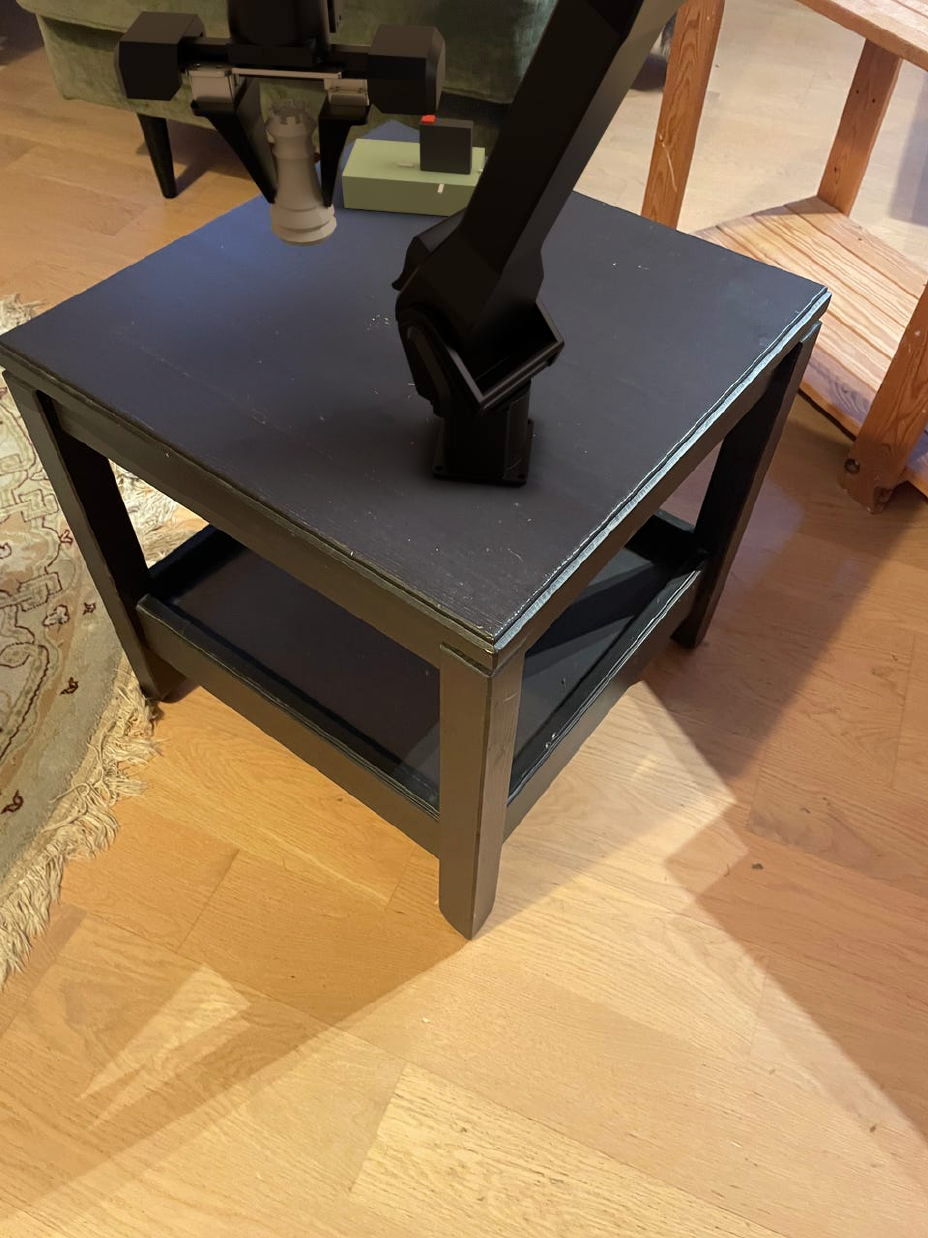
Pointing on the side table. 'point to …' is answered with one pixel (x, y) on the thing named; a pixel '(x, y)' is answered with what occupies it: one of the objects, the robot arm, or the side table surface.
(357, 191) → the olive green box
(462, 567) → the side table surface
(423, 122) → the dark square block
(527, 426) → the robot arm
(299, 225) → the rook chess piece
